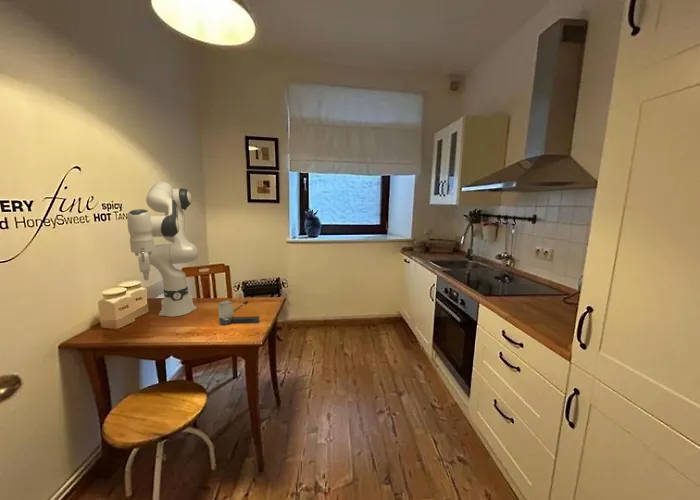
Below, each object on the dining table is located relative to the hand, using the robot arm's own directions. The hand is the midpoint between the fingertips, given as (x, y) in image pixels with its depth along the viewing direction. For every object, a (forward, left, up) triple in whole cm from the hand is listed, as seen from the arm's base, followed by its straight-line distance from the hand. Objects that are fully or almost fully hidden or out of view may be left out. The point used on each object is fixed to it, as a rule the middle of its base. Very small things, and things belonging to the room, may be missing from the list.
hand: (146, 277), depth 138 cm
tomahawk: (-16, +42, -30) cm, 54 cm away
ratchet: (+3, +38, -29) cm, 48 cm away
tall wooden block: (0, +32, -26) cm, 41 cm away
